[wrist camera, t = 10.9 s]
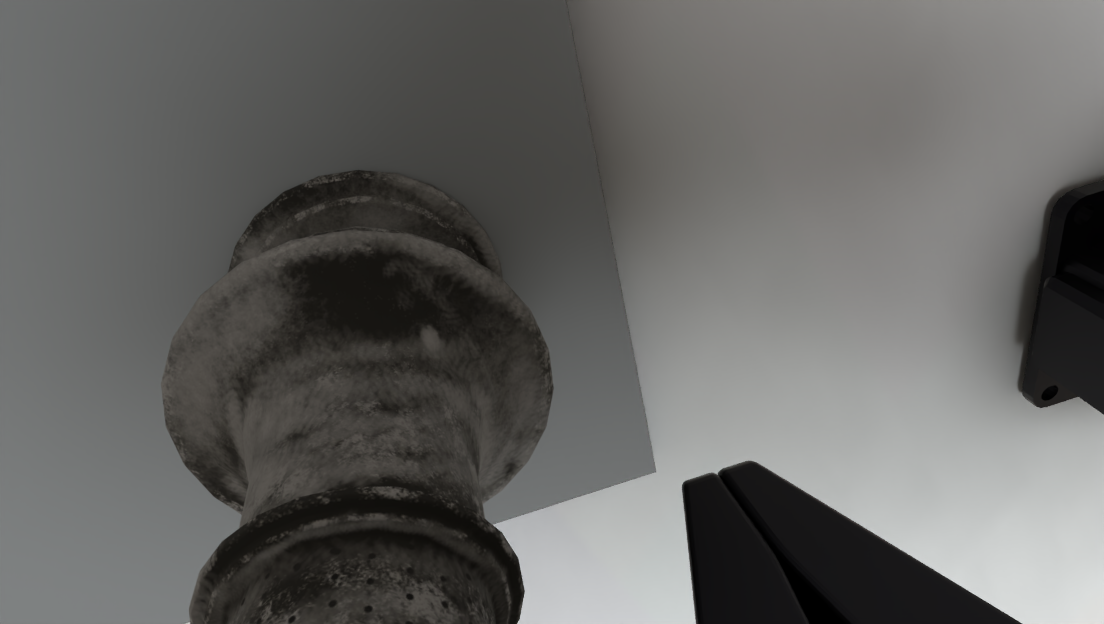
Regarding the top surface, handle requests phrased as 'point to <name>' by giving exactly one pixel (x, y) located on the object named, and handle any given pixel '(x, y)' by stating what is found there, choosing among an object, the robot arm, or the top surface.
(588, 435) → the slate mat
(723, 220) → the top surface
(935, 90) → the top surface
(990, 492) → the top surface
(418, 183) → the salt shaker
